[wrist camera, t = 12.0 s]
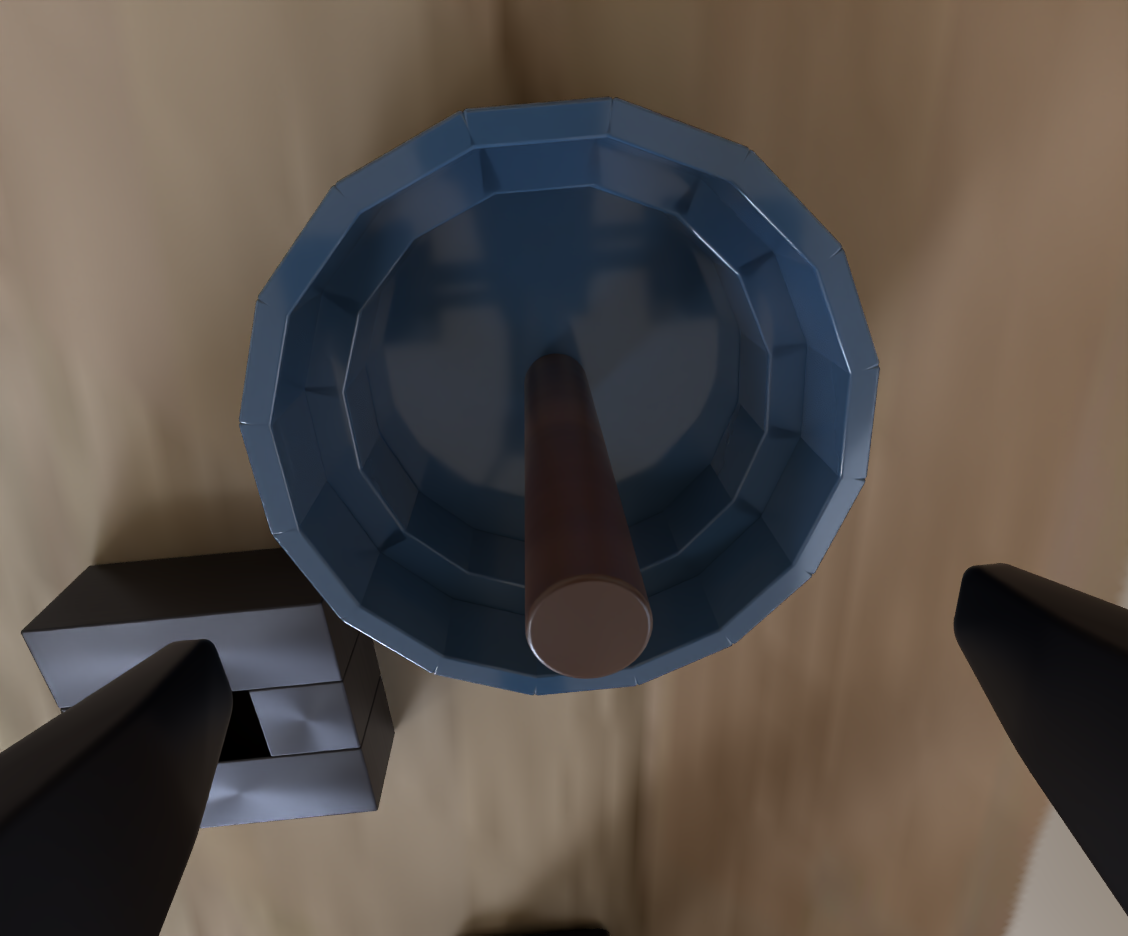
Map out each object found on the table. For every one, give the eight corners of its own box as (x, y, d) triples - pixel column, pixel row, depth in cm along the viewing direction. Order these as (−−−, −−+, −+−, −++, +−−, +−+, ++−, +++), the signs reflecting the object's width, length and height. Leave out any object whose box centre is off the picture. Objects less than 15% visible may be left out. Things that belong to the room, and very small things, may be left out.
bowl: (774, 553, 21) (845, 666, 16) (368, 592, 21) (324, 717, 16) (803, 93, 16) (917, 69, 11) (261, 138, 15) (151, 134, 11)
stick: (588, 410, 18) (654, 675, 9) (527, 415, 18) (531, 687, 9) (584, 349, 17) (653, 570, 8) (521, 355, 17) (518, 582, 8)
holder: (395, 732, 23) (377, 811, 20) (170, 754, 23) (123, 836, 20) (349, 541, 20) (320, 603, 17) (89, 565, 20) (18, 631, 17)
